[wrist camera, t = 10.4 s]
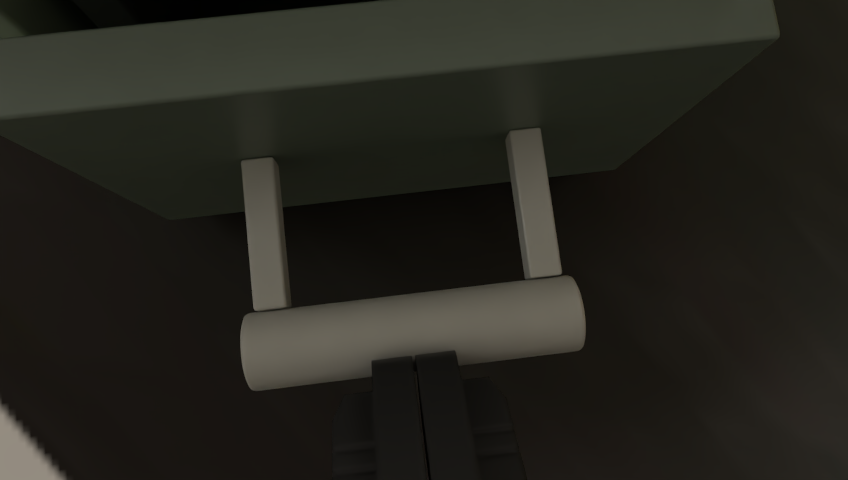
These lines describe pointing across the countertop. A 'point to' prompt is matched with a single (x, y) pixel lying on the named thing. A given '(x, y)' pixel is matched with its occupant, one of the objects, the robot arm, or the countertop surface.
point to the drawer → (371, 136)
